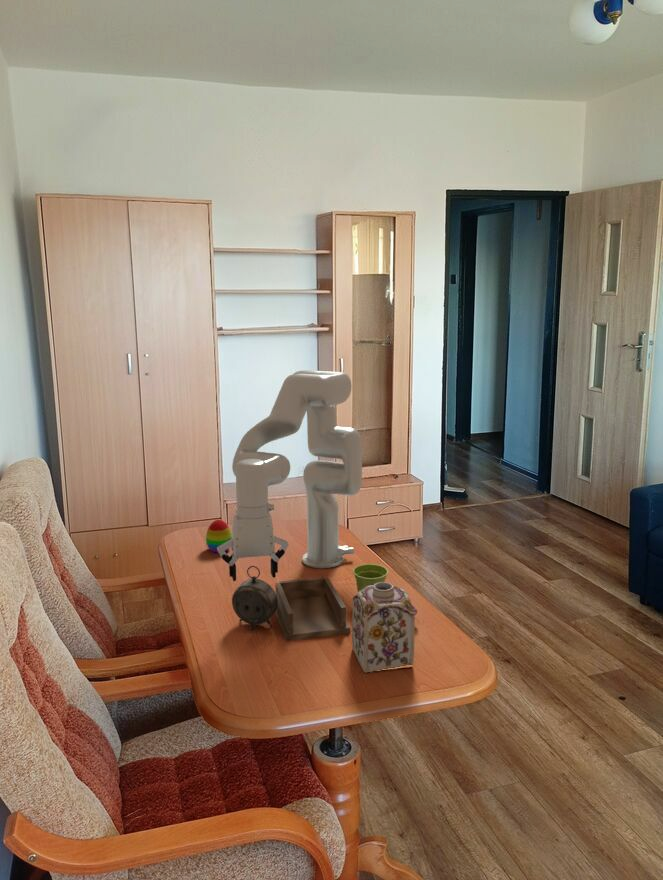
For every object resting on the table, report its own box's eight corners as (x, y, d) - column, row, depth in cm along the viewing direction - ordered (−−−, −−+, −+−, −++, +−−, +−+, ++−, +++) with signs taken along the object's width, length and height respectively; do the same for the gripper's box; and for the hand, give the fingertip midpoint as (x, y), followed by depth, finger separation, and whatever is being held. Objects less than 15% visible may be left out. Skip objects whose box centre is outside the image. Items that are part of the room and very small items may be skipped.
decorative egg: (211, 544, 234) (210, 515, 232) (235, 546, 233) (234, 516, 230) (202, 553, 227) (201, 523, 224) (227, 555, 225) (226, 525, 223)
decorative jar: (414, 669, 160) (416, 594, 156) (364, 675, 158) (364, 599, 154) (398, 642, 172) (400, 572, 168) (351, 648, 169) (351, 577, 165)
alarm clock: (278, 625, 180) (277, 564, 177) (270, 635, 175) (268, 573, 172) (239, 618, 184) (237, 559, 180) (229, 628, 179) (227, 567, 175)
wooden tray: (330, 598, 195) (330, 576, 194) (350, 633, 176) (350, 608, 175) (272, 604, 191) (271, 582, 190) (285, 641, 172) (285, 616, 171)
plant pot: (394, 603, 192) (395, 573, 190) (365, 611, 187) (365, 580, 185) (374, 590, 200) (375, 561, 198) (346, 598, 195) (346, 568, 193)
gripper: (285, 503, 178) (285, 568, 182) (214, 508, 174) (216, 574, 178) (290, 512, 171) (291, 580, 175) (217, 518, 167) (219, 586, 171)
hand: (253, 577), depth 176 cm, fingers open, 9 cm apart
